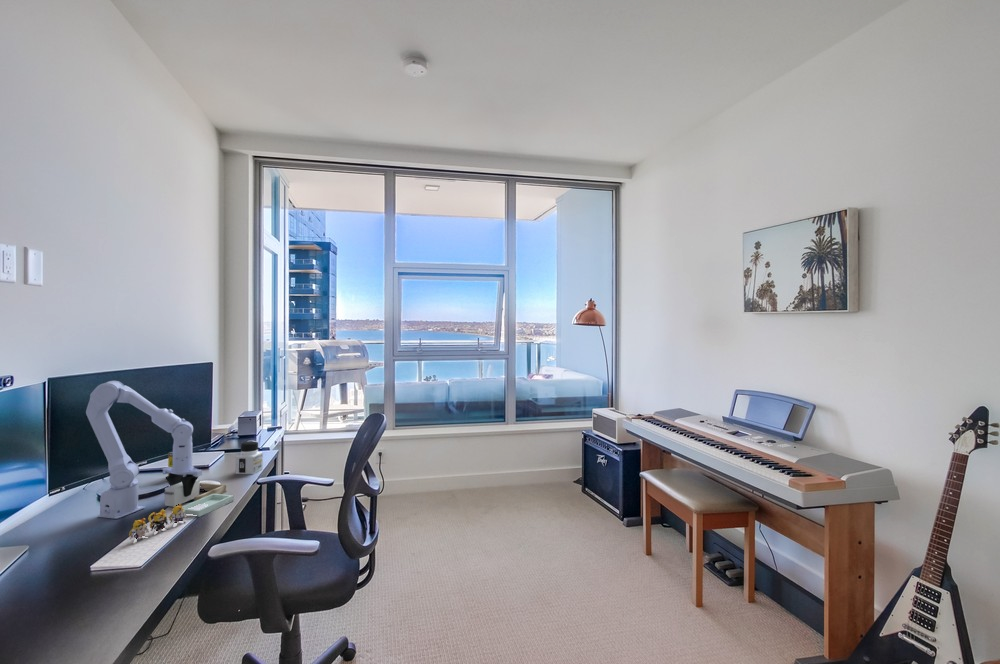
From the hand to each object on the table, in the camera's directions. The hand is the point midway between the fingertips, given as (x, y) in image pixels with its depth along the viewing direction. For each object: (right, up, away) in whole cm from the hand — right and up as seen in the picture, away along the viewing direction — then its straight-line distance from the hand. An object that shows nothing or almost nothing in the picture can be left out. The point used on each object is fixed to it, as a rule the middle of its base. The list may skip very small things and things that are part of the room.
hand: (182, 495), depth 159 cm
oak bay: (+1, -3, +6) cm, 7 cm away
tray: (+11, -3, -4) cm, 12 cm away
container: (+3, -3, +37) cm, 37 cm away
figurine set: (+9, -3, -23) cm, 25 cm away
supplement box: (-21, -3, +28) cm, 35 cm away
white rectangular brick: (0, -2, 0) cm, 2 cm away
